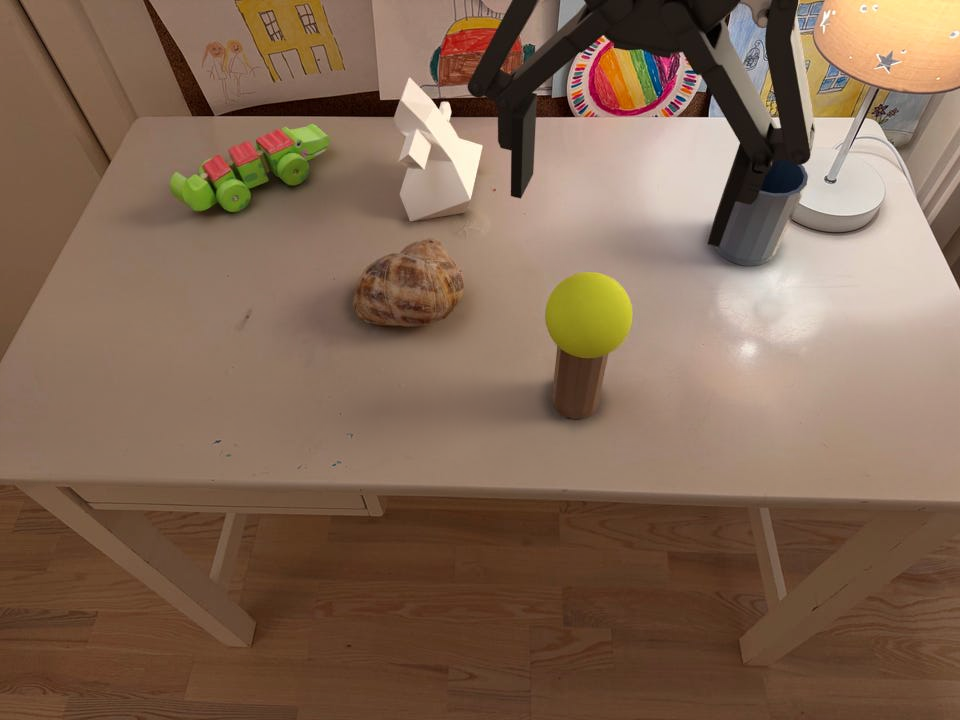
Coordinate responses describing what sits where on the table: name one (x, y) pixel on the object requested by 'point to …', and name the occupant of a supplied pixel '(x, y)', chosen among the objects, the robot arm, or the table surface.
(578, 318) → the ball
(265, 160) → the toy crocodile
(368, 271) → the seashell
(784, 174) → the cup
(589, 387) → the stand
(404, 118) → the white angular sculpture
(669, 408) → the table surface
